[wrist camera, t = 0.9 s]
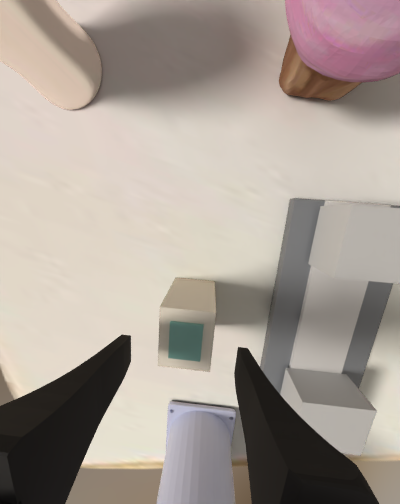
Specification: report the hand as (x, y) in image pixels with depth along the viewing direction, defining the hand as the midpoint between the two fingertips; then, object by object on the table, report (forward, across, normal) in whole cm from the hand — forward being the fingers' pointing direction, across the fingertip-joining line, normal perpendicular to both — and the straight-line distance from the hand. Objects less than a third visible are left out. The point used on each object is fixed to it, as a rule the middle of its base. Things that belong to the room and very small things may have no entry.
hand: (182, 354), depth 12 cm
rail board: (+7, -13, 0) cm, 15 cm away
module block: (+7, 0, 0) cm, 7 cm away
